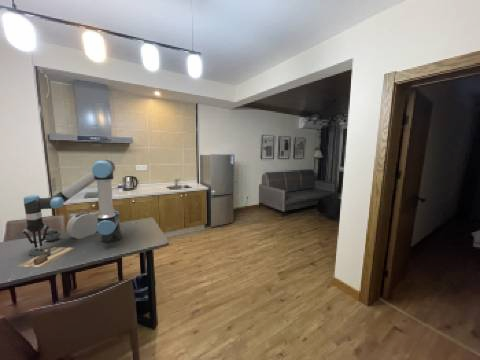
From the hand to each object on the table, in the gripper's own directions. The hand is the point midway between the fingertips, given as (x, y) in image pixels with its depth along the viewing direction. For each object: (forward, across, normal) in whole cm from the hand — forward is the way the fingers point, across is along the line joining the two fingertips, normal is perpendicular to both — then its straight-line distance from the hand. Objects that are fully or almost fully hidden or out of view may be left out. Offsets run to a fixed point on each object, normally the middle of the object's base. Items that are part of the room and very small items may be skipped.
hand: (39, 251), depth 142 cm
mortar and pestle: (+3, -10, -19) cm, 22 cm away
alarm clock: (+3, -29, -16) cm, 33 cm away
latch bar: (+1, 0, +5) cm, 5 cm away
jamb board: (+2, -4, +10) cm, 11 cm away
